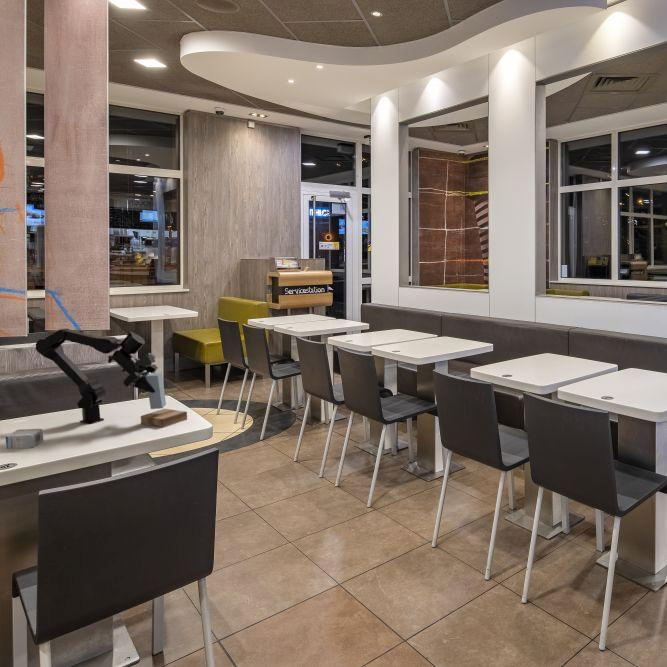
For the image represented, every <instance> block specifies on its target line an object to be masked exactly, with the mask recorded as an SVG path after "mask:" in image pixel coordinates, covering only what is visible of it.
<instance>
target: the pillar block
mask: <svg viewBox="0 0 667 667" xmlns="http://www.w3.org/2000/svg"><path fill="white" fill-rule="evenodd" d="M146 380H147V381H148V383H149V384H150V385H151V386H152V387H153V389H154V390H155V392H154V393H151V392H148V391H147V394H148V399H149V400H148V401H149V406H150V410H155V409H158V410H161V409H164V407H165V406H166V405H167V401H166V395H165V394H166V393H165V387H164V386H165V385H164V379H163V372H162V371H161V372H155V373H150V374H148V375H147V376H146Z"/></svg>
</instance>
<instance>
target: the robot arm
mask: <svg viewBox="0 0 667 667" xmlns="http://www.w3.org/2000/svg"><path fill="white" fill-rule="evenodd" d="M66 341H68V342H72V343H75V344H78V345H79V344H80V345H84V346H88V347H91V348H93V349H94V350H95V351H97V352H100V353H102V354H105V355H106V354H111V353H112V355H108V356H107V358H108V359H107V360H108V361H107V362H108V364H111V363H116V364H117V365H118V366H120V367H121V369H122V370H121V371H122V373H126V374H127V377H125V378H124V380H123V385H124V387H125V388H126V389H128V388H131V387H132V388H135V389H140V390H143V391H146V392H147V393H148V392H151V393H154V392H155V390H154V389H153V387H152V386H151V385H150V384H149V383H148V381H147V380H146V376H147V375H148V374H150V373H156V371H157V370H158V369H159V368H158V366H157V365H156V364H152V363H155V362H156V359H155V358H156V356H155V355H154V354H153V353H151V352H149V353H147V354H145V355H144V357H142V358H138V357H137V358H134V356H133V355H135V354H137V353H138V351H140V350H141V348H142V347H143V346H144V344H145V343H146V341H145V339H144V338H143V337H142V336H140V335H138V334H137V333H134V332H133V331H130V332H128V333H127V335H126V337H124V339H123V340H121V339H118V338H117V337H115V336H106V335H105V336H99V335H98V336H96V335H93V334H88V333H85V332H81V331H78V330H77V331H76V330H74V329H73V330H72V329H69V328H67V327H65V328H62V329H59V330H57V331H56V332H54V333H52V334H51V335H49V336H47V337H44V338H40V339H39V340H37V341H36V342H35V350H36V352H38V354H40V355H41V356H43V358H46V359H49V360H51V361H52V362H54V363H55V365H57V367H58V368H59V369H60V370H61V371H62V372H63V373H64V374H65V376H67V377H68V378H69V380H70V381H72V382H73V384H75V386H76V387H77V388H78V390H79V395H80V396H81V398H80V399H79V400H78V401H77V403H76V405H77V407H78V409H81V413H82V414H81V415H82V420H79V423H82V422H83V424H88V425H89V424H94V423H97V422H101V421H104V420H105V418H102V417H101V412H100V411H101V408H100V404H102V403H103V400H104V399H105V397H106V389H105V388H104V387H105V386H104V385H103V384H102V383H101V382H100V381H99V380H98V379H94V380H91V379H89V378H88V377H87V376H86V374H84V372H83V371H82V370H81V369H80V368H78V366H77V365H76V364H75V363H74V362H73V361H72V360H71V359H70V358H69V356H68V355H66V354H65V353H64V349H63V346H62V345H64V343H65V342H66ZM119 348H120V349H119ZM132 384H133V385H132Z"/></svg>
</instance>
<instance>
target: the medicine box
mask: <svg viewBox="0 0 667 667" xmlns="http://www.w3.org/2000/svg"><path fill="white" fill-rule="evenodd" d="M43 441H44V434H43V429H42V428H25V429H24V428H23V429H22V428H21V429H17V430H15V431H13V432H11V433H9V434H8V435H6V436H5V445H6V449H7V450H8V449H9V450H10V449H11V450H12V449H31V448H32V449H33V448H34V447H36V446H37V445H38V444H40V443H42V442H43Z"/></svg>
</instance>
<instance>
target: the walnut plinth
mask: <svg viewBox="0 0 667 667" xmlns="http://www.w3.org/2000/svg"><path fill="white" fill-rule="evenodd" d="M187 420H188V412H187V411H185V410H184V411H183V410H178V409H177V410H176V409H170V408H161V409H158V410H156V411H152V412H149V413H146V414H142V415H140V424H141V425H148V426H153V427H160V428H167V427H168V426H171V425H174V424H178V423H181V422H183V421H187Z"/></svg>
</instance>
